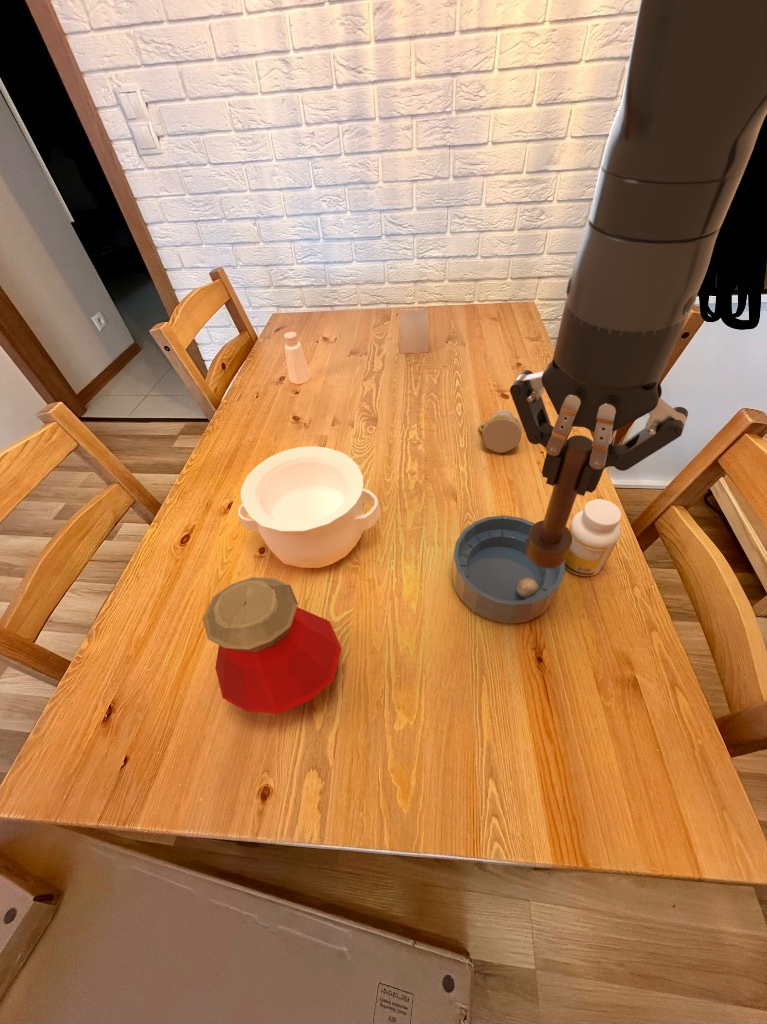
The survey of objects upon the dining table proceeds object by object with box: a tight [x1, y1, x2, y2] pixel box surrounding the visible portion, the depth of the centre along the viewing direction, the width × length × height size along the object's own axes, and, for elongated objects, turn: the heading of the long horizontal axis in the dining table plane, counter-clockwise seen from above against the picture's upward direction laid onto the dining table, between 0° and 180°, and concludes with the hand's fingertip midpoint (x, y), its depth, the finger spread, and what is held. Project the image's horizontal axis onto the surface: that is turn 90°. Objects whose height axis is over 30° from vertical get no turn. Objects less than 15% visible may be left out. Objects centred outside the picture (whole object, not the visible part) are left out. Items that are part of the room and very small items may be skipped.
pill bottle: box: [565, 498, 622, 577], centre depth 66 cm, size 6×6×12 cm
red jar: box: [202, 576, 342, 715], centre depth 54 cm, size 16×14×20 cm
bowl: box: [451, 514, 566, 624], centre depth 67 cm, size 15×15×6 cm
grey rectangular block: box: [398, 307, 430, 355], centre depth 110 cm, size 4×7×10 cm, turn 89°
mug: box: [477, 409, 523, 454], centre depth 88 cm, size 8×10×10 cm
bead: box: [517, 578, 539, 599], centre depth 66 cm, size 3×3×3 cm
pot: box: [237, 445, 381, 569], centre depth 72 cm, size 22×17×12 cm
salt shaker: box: [283, 331, 312, 385], centre depth 104 cm, size 5×5×11 cm
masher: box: [525, 434, 593, 568], centre depth 45 cm, size 4×4×16 cm
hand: (567, 483), depth 43 cm, fingers closed on masher, 2 cm apart
